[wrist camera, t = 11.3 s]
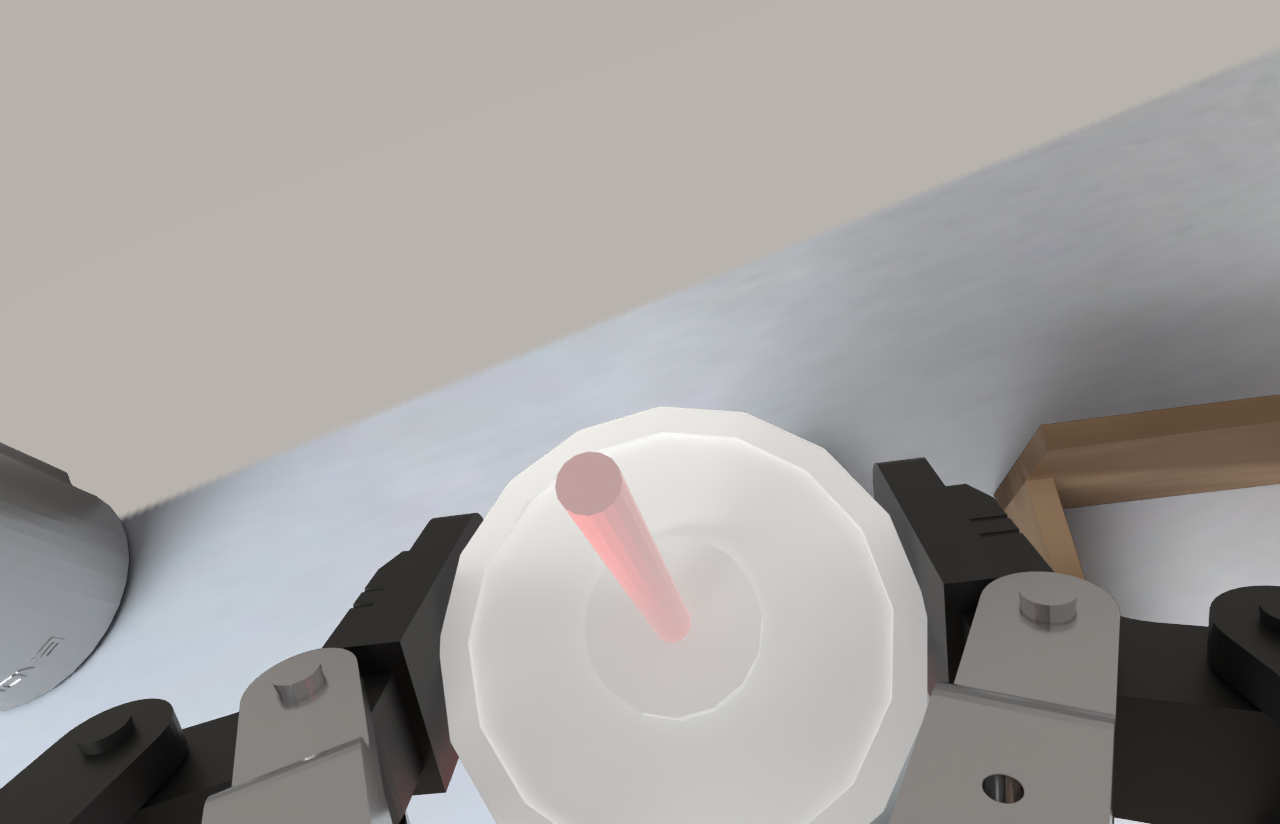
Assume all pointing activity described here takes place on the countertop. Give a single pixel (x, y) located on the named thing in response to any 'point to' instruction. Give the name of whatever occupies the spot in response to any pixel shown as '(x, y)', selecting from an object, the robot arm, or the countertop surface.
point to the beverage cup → (685, 633)
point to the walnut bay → (1136, 465)
